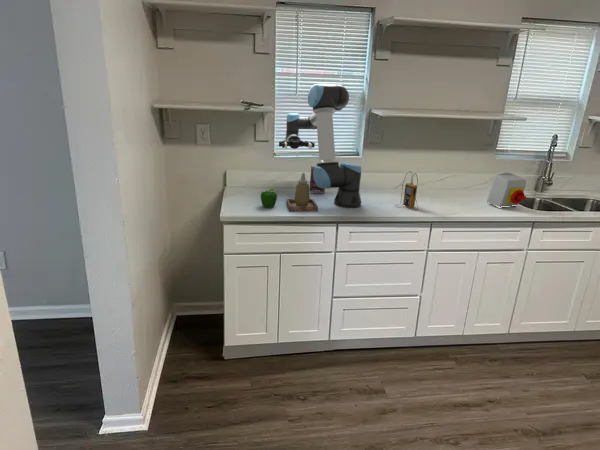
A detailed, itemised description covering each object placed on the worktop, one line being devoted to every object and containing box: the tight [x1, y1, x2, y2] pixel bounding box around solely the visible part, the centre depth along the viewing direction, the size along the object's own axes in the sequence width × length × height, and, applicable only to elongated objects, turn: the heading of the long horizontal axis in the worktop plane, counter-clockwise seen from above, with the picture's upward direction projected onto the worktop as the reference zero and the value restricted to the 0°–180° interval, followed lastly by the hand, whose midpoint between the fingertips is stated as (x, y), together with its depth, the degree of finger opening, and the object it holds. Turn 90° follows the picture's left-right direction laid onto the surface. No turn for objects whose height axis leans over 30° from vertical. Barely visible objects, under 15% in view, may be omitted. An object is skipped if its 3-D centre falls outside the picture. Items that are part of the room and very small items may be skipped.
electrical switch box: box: [486, 171, 527, 207], centre depth 243 cm, size 15×15×20 cm
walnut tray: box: [285, 198, 319, 213], centre depth 225 cm, size 15×15×2 cm
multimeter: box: [400, 170, 419, 211], centre depth 232 cm, size 15×10×20 cm
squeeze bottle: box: [294, 172, 310, 206], centre depth 222 cm, size 8×8×18 cm
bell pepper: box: [260, 187, 278, 209], centre depth 221 cm, size 8×8×10 cm
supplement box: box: [309, 165, 326, 194], centre depth 255 cm, size 9×5×16 cm, turn 104°
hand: (298, 146), depth 229 cm, fingers open, 13 cm apart
